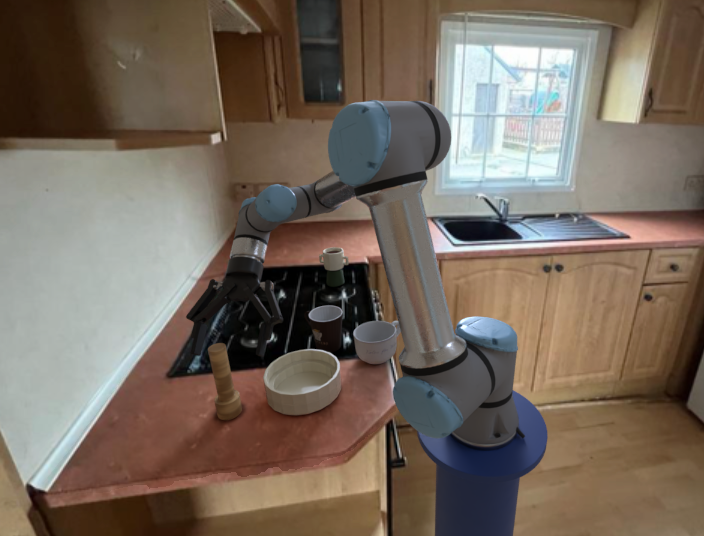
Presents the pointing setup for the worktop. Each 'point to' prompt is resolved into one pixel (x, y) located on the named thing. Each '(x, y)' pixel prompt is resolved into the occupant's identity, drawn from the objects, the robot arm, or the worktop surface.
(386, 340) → the teacup
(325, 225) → the worktop surface
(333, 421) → the worktop surface
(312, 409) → the mixing bowl
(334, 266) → the character mug
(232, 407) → the wooden masher
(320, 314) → the coffee mug
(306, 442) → the worktop surface
